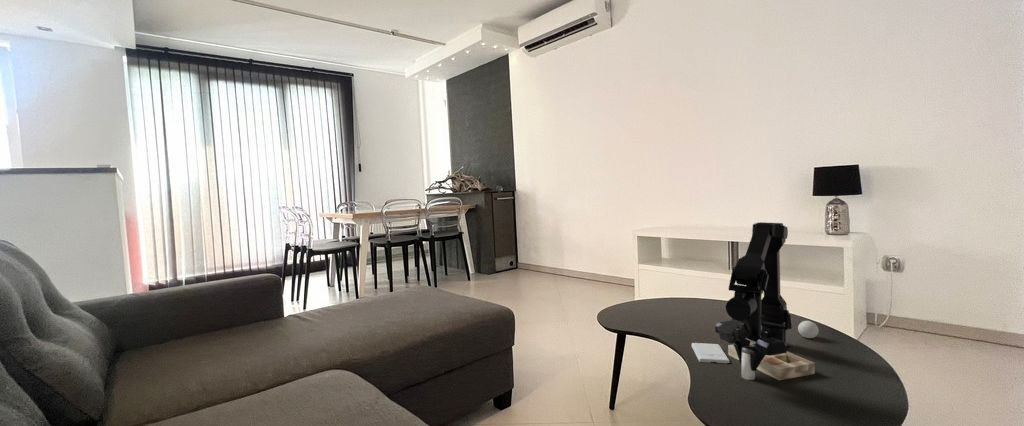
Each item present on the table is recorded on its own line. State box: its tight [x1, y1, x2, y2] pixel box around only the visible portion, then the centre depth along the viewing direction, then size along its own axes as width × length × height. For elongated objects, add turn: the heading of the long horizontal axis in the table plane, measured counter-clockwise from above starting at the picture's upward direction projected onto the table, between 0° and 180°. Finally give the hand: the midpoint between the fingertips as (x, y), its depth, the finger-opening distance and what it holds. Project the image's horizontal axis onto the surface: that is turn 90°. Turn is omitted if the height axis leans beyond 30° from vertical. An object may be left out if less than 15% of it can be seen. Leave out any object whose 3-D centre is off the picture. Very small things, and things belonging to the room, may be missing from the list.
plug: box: [740, 346, 756, 381], centre depth 117 cm, size 3×3×8 cm
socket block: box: [727, 341, 816, 381], centre depth 126 cm, size 12×18×3 cm, turn 15°
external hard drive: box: [691, 342, 730, 364], centre depth 134 cm, size 2×8×12 cm
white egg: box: [797, 320, 820, 339], centre depth 146 cm, size 8×6×6 cm
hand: (748, 368), depth 118 cm, fingers closed on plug, 3 cm apart
